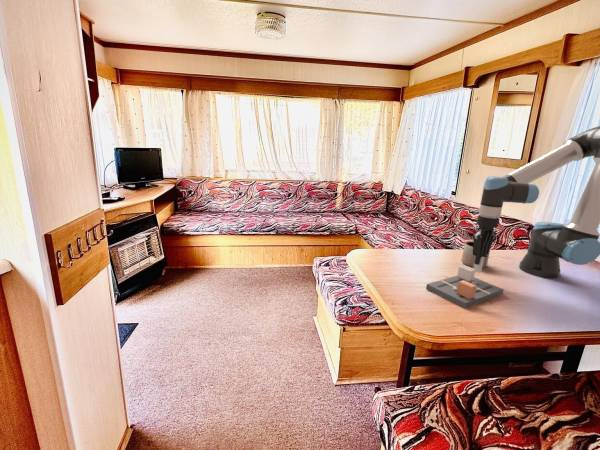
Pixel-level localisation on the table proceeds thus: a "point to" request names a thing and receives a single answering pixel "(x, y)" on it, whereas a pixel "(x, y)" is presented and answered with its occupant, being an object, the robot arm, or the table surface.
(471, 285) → the block
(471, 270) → the block
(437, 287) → the grey slider base plate
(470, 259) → the planter
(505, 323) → the table surface
